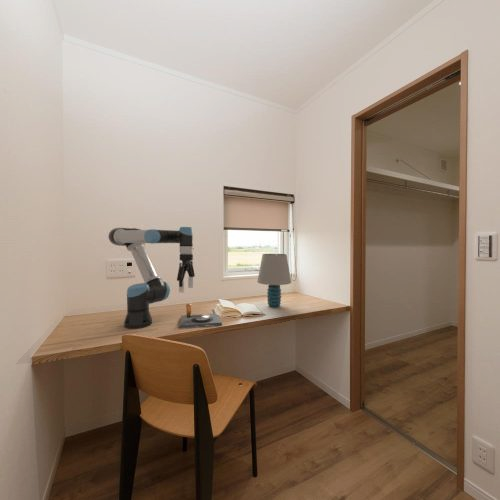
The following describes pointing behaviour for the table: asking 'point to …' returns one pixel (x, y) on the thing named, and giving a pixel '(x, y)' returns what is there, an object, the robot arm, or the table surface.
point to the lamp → (274, 276)
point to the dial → (196, 316)
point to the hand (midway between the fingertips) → (186, 289)
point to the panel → (191, 322)
